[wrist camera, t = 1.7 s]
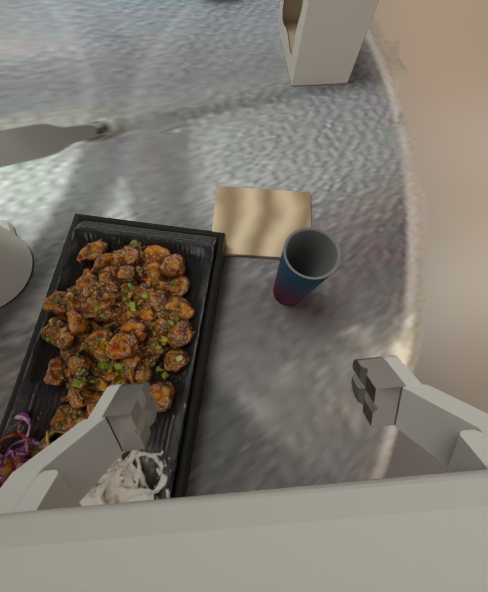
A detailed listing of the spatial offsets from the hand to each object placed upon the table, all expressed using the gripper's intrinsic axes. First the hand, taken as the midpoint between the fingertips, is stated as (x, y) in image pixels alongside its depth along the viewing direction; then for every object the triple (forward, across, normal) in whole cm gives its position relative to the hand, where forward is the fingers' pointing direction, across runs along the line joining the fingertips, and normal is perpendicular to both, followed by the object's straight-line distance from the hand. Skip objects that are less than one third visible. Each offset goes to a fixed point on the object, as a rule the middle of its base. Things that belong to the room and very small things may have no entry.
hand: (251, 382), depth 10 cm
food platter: (+24, +20, +17) cm, 36 cm away
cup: (+33, -7, +12) cm, 35 cm away
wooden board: (+41, -4, +1) cm, 41 cm away
